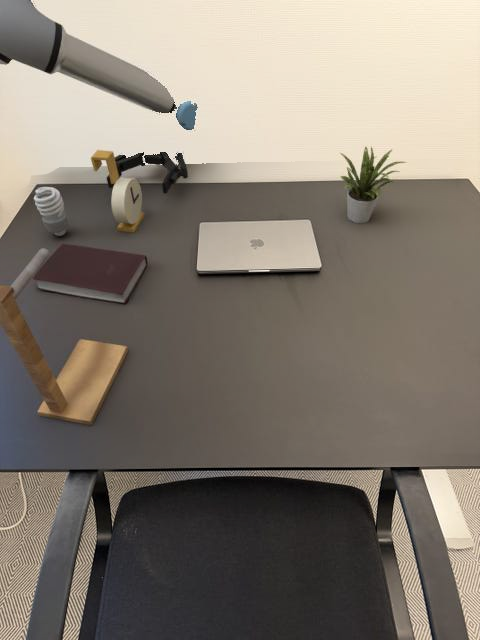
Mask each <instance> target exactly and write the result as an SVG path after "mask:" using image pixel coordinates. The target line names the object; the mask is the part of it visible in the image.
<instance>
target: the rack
mask: <svg viewBox="0 0 480 640" xmlns="http://www.w3.org/2000/svg"><path fill="white" fill-rule="evenodd" d="M50 256H51V253H50V251H49V250H48V249H47V248H45V247H42V248H40V249H39V250H37V252H36V254H35V255H34V256H33V257H32V258H31V260H30V261H29V263H28V264H27V265H26V266H25V268H24V269H23V270H22V271H21V272H20V274H19V275H18V276H17V277H16V278H15V280H14V281H13V282H12V284H10V286H9V285H3V284H2V285H1V284H0V325H1V327H2V329H3V331H4V333H5V334H6V336H7V338H8V340H9V341H10V343H11V345H12V347H13V348H14V350H15V352H16V353H17V356H18V358H20V360H21V362H22V365H24V368H25V369H26V371H27V373H28V375H29V376H30V377H31V380H32V381H33V383H34V385H35V387H36V389H37V390H38V392H39V394H40V395H41V398H42V399H43V401H42V403H41V404H40V406H39V408H38V410H37V413H38V415H39V416H40V417H45V418H50V419H55V420H61V421H66V422H72V423H77V424H82V425H86V426H87V425H88V426H93V424H94V422H95V420H96V418H97V416H98V415H99V412H100V410H101V408H102V406H103V404H104V402H105V399H106V397H107V395H108V393H109V392H110V389H111V387H112V385H113V384H114V381H115V379H116V376H117V375H118V372H119V371H120V368H121V367H122V364H123V362H124V361H125V358H126V356H127V354H128V352H129V347H128V346H126V345H122V344H121V345H120V344H114V343H108V342H102V341H96V340H89V339H83V338H79V340H78V342H77V343H76V345H75V347H74V348H73V350H72V352H71V353H70V355H69V357H68V358H67V360H66V362H65V364H64V365H63V367H62V369H61V371H60V372H59V374H58V375H57V377H56V378H55V375H54V373H53V371H52V370H51V368H50V366H49V364H48V362H47V359H46V358H45V356H44V354H43V352H42V350H41V348H40V346H39V344H38V343H37V340H36V339H35V336H34V334H33V333H32V330H31V328H30V327H29V325H28V323H27V320H26V318H25V317H24V315H23V313H22V311H21V309H20V307H19V305H18V303H17V301H16V300H17V299H18V297H19V295H20V294H21V293H22V292H23V291H24V289H25V288H26V287H27V285H28V284H29V283H30V281H31V280H33V277H34V276H35V274H36V273H37V272H38V270H39V269H40V268H41V267H42V266H43V264H44V263H45V262H46V261H47V260H48V259H49V257H50Z"/></svg>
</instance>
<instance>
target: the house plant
mask: <svg viewBox="0 0 480 640" xmlns="http://www.w3.org/2000/svg"><path fill="white" fill-rule="evenodd" d="M392 152H393V149H390V150H389V151H387V152H386V153H384V155H383V156H382V157H381V158H380V160H379V161H378V162H377V164H376V165H374V164H375V159H376V158H378V155H376V156H375V154H374V149H373V146H370V155H369V148H368V147H367V146H365V147H364V149H363V153H362V161H361V167H360V173H359V175H358V172H357V170H356V167H355V165H354V163H353V161H352V160H351V159H350V158H349V157H347V155H345V154H344V153H341V152H339V154H340V155H341V156H342V157H343V158H344V159H345V160H346V162H347V164H348V166H349V167H348V166H346V170H347V175H341V176H340V178H341V179H342V180H343V181H344V182H346V183H347V184H346V185H345V186H344V187H343V189H347V192H346V193H347V194H346V207H347V209H346V212H347V213H346V216H347V219H348V220H349V221H350V222H354V223H355V224H364V223H367V222H369V221H370V220H371V216H372V215H373V212H374V209H375V207H376V205H377V202H378V200H379V198H380V194H381V193H382V189H381V188H382V187H384V186H385V185H387V184H389V183H393V182H400V180H399V179H390V178H389V176H388V175H391V174H393V173H400V171H399V170H390V171H388V172H386V173H384V172H385V171H386V170H388V169H389V168H391V167H394V166H395V165H398V164H405V163H407V161H402V160H401V161H392V162H391V163H389V164H387V165H386V166H384V167H383V168H382V166H383V165H384V164H385V162H386V161H387V159H388V158H389V157H390V154H391V153H392ZM381 168H382V169H381ZM380 169H381V170H380ZM379 176H381V177H380V178H379V179H378V177H379ZM376 179H377V180H376ZM382 182H383V183H382ZM380 183H381V184H380ZM378 184H380V185H379V186H377V185H378ZM375 186H377V187H376V188H374V187H375Z"/></svg>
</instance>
